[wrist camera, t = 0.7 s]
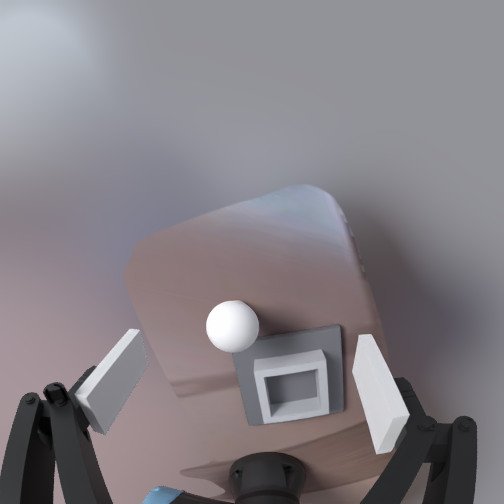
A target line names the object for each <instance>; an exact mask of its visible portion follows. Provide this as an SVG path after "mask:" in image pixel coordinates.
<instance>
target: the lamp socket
mask: <svg viewBox="0 0 504 504" xmlns="http://www.w3.org/2000/svg"><path fill="white" fill-rule="evenodd" d="M232 355H233V360H234V364H235V369H236V373H237V378H238V382H239V387H240V391H241V396H242V400H243V404H244V409H245V413H246V417H247V421H248V425H249V426H251V425H262V424H271V423H279V422H286V421H293V420H300V419H306V418H311V417H317V416H322V415H327V414H332V413H337V412H341V411H344V410H343V369H342V348H341V332H340V326H339V324H335V325H330V326H324V327H319V328H314V329H308V330H302V331H296V332H290V333H284V334H278V335H271V336H264V337H257V338H256V340H255V341H254V343H253V344H252V345H251V346H250V347H248V348H247V349H245V350H243V351H241V352H236V353H232Z"/></svg>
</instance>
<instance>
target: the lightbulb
mask: <svg viewBox="0 0 504 504" xmlns="http://www.w3.org/2000/svg"><path fill="white" fill-rule="evenodd" d="M206 329H207V334H208V337H209V339H210V340H211V342H212V343H213V344H214V345H215V346H216V347H217V348H218V349H220V350H222V351H225V352H230V353H236V352H241V351H243V350H245V349H247V348H248V347H250V346H251V345H252V344H253V343H254V341H255V340H256V338H257V336H258V333H259V321H258V318H257V316H256V314H255V312H254V311H253V310H252V309H251V308H250V307H249V306H248V305H246V304H245V303H244V302H242V301H239V300H237V301H227V302H223V303H221V304H219V305H217V306H216V307H215V308H214V309H213V310H212V311H211V313H210V314H209V316H208V319H207V325H206Z"/></svg>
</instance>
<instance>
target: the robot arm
mask: <svg viewBox="0 0 504 504" xmlns="http://www.w3.org/2000/svg"><path fill="white" fill-rule="evenodd" d="M148 365H149V363H148V360H147V356H146V352H145V348H144V344H143V340H142V336H141V331H140V330H136V329H129V330H128V332H127V333H126V334H125V335H124V336H123V338H121V340H120V341H119V342H118V343H117V344H116V345H115V347H114V348H113V349H112V350H111V351H110V352H109V353H108V355H107V356H106V357H105V358H104V359H103V360H102V362H101V363H100V364H99V365H98V366H92V367H91V368H89V369H88V370H86V372H85V373H84V374H83V375H82V376H81V377H80V378H79V381H77V382H76V383H75V384H74V386H73V387H72V388H71V389H70V390H69V391H68V393H67V391H66V389H65V387H64V385H63V384H62V383H58V382H55V383H52V384H49V385H47V386H46V387H45V389H44V391H43V393H44V395H45V397H46V399H47V400H41V399H40V397H39V395H38V394H37V393H33V392H31V393H27V394H25V395H24V396H23V397H22V399H21V400H20V403H19V406H18V409H17V412H16V415H15V419H14V422H13V425H12V429H11V432H10V436H9V440H8V443H7V447H6V451H5V456H4V460H3V465H2V470H1V476H0V504H53V490H54V472H55V460H56V462H57V468H58V473H59V478H60V482H61V487H62V491H63V495H64V499H65V502H66V504H113V502H112V500H111V498H110V495H109V492H108V490H107V487H106V485H105V482H104V479H103V476H102V473H101V471H100V468H99V465H98V461H97V458H96V455H95V452H94V448H93V445H92V441H91V438H90V434H89V431H88V429H87V427H88V426H89V425H91V427H92V428H93V430H94V431H95V432H98V433H101V434H104V435H106V433H107V431H108V430H109V428H110V427H111V425H112V423H113V422H114V420H115V418H116V417H117V415H118V413H119V412H120V410H121V409H122V407H123V405H124V404H125V402H126V401H127V399H128V397H129V396H130V394H131V392H132V391H133V389H134V388H135V386H136V384H137V383H138V381H139V380H140V378H141V376H142V375H143V373H144V372H145V370H146V369H147V367H148ZM352 372H353V375H354V379H355V382H356V385H357V388H358V391H359V395H360V398H361V401H362V405H363V408H364V412H365V415H366V419H367V422H368V426H369V429H370V433H371V436H372V440H373V444H374V448H375V451H376V454H381V453H386V452H391V451H392V449H393V447H394V445H395V446H396V452H395V454H394V455H393V457H392V459H391V460H390V462H389V463H388V465H387V466H386V468H385V470H384V471H383V473H382V474H381V475H380V477H379V478H378V480H377V481H376V483H375V484H374V485H373V487H372V488H371V490H370V491H369V492H368V494H367V495H366V496H365V498H364V499H363V500H362V501H361V503H360V504H400V503H401V501H402V499H403V498H404V496H405V494H406V493H407V491H408V489H409V487H410V486H411V484H412V482H413V480H414V478H415V477H416V475H417V473H418V471H419V469H420V467H421V465H422V463H423V462H424V463H431V466H430V472H429V477H428V482H427V486H426V491H425V495H424V499H423V503H422V504H473V500H474V493H475V482H476V468H477V425H476V422H475V421H474V420H473V419H472V418H470V417H467V416H460V417H458V418H457V419H456V420H455V421H454V422H453V424H441V423H437V421H436V420H435V419H434V418H432V417H430V416H426V414H425V412H424V410H423V408H422V406H421V404H420V402H419V400H418V398H417V396H416V394H415V392H414V391H413V388H412V386H411V384H410V383H409V382H408V381H407V380H406V379H405V378H403V377H402V378H394V379H393V377H392V375H391V373H390V371H389V369H388V367H387V365H386V363H385V361H384V358H383V356H382V354H381V352H380V350H379V348H378V346H377V344H376V342H375V340H374V339H373V337H372V335H371V334H366V335H359V338H358V344H357V350H356V355H355V360H354V365H353V370H352ZM305 480H306V474H305V468H304V466H303V464H302V463H301V462H300V461H299V460H297V459H296V458H294V457H292V456H289V455H286V454H282V453H273V452H264V453H255V454H251V455H247V456H245V457H242V458H240V459H239V460H237V461H236V462H235V463H234V464H233V465H232V466H231V468H230V471H229V484H230V487H231V490H232V493H233V496H234V499H235V504H300V503H299V499H300V496H301V493H302V490H303V487H304V484H305ZM142 504H234V503H229V502H224V501H219V500H215V499H210V498H206V497H202V496H198V495H194V494H191V493H187V492H185V491H184V490H177V489H173V488H169V487H166V486H158V487H155V488H154V489H152V491H150V493H149V494H148V495H147V497H146V498H145V499H144V501H143V503H142Z"/></svg>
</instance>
